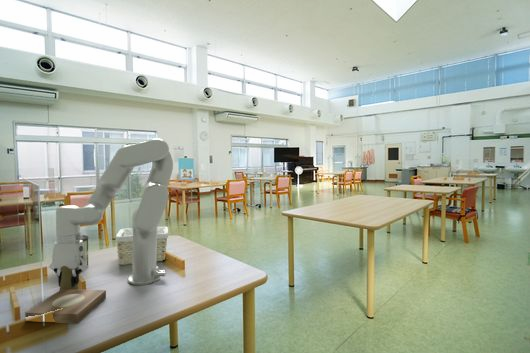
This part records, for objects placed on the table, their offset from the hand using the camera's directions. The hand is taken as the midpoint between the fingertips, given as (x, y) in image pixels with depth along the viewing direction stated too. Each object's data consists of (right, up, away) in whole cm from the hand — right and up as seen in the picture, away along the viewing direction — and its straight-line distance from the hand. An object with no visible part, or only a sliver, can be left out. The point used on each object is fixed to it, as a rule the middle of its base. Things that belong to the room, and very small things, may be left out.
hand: (68, 284), depth 107 cm
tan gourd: (0, -2, 0) cm, 2 cm away
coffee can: (-12, -1, +22) cm, 25 cm away
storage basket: (+13, -1, +37) cm, 39 cm away
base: (+9, -3, -13) cm, 16 cm away
